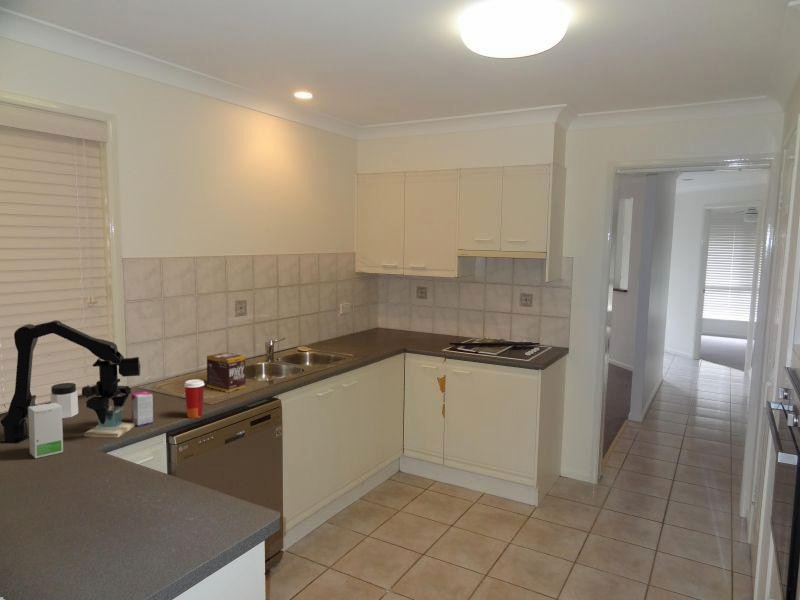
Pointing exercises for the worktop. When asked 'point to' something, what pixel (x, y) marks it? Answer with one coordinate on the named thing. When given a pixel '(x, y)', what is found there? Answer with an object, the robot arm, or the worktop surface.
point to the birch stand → (110, 431)
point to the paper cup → (194, 398)
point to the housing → (112, 419)
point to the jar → (65, 398)
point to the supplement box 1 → (142, 408)
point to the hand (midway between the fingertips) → (110, 419)
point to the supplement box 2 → (225, 371)
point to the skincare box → (45, 430)
